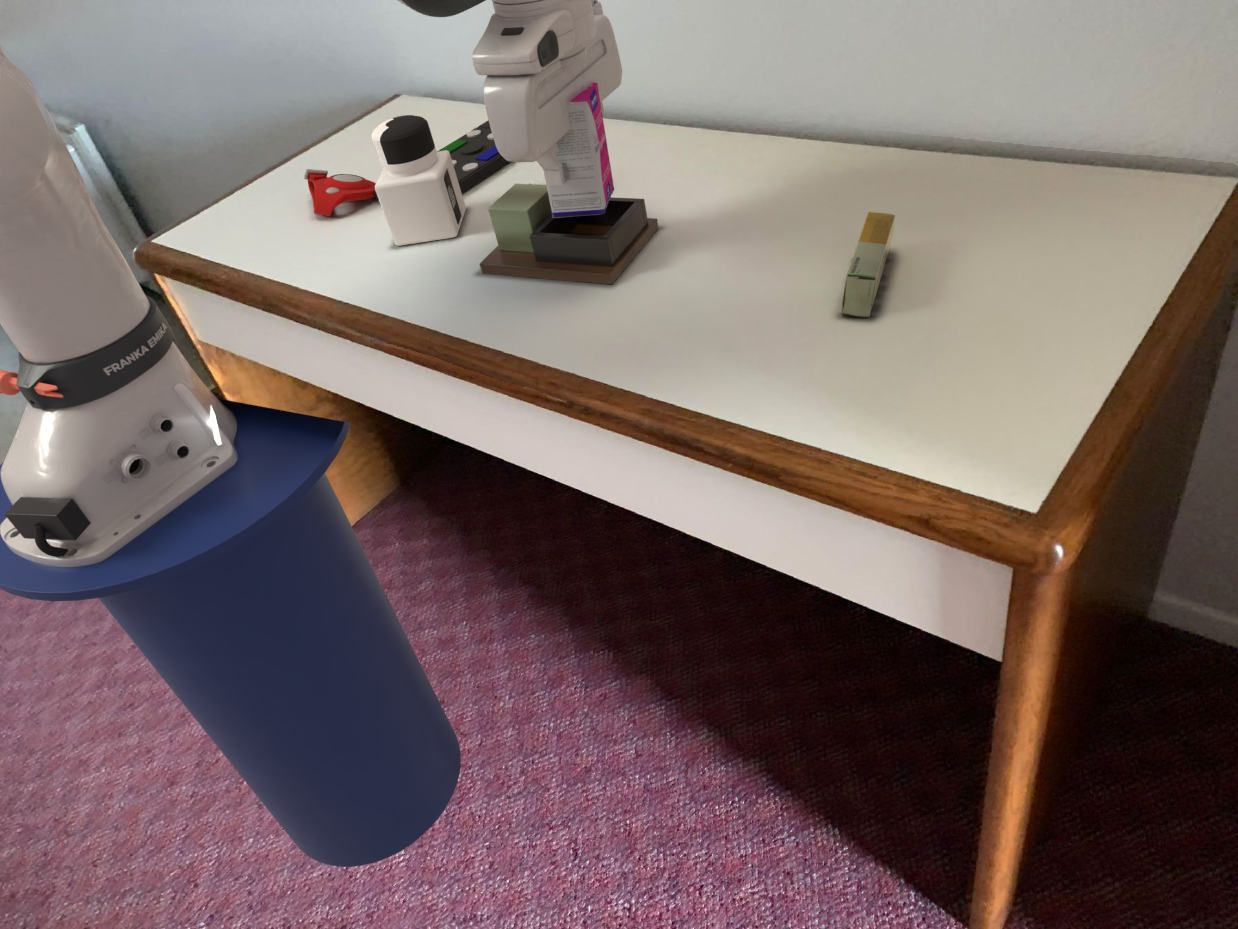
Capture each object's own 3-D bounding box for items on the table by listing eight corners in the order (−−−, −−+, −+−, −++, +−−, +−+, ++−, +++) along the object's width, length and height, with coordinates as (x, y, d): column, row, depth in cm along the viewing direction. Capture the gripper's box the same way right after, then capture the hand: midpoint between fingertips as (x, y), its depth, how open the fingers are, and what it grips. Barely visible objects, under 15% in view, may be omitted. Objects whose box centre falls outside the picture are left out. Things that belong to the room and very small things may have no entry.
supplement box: (607, 214, 94) (585, 101, 87) (551, 219, 95) (525, 108, 88) (617, 189, 98) (597, 79, 91) (564, 193, 100) (540, 86, 92)
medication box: (871, 319, 82) (876, 280, 79) (840, 315, 83) (844, 276, 80) (890, 249, 90) (895, 211, 87) (862, 246, 91) (866, 208, 88)
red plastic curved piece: (391, 175, 125) (354, 190, 116) (391, 207, 127) (355, 225, 119) (309, 159, 127) (267, 173, 118) (311, 192, 129) (270, 208, 121)
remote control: (580, 116, 133) (577, 102, 132) (435, 211, 116) (430, 196, 115) (522, 110, 139) (519, 97, 138) (376, 200, 122) (371, 186, 121)
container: (467, 209, 115) (436, 104, 107) (457, 237, 109) (424, 129, 101) (407, 218, 116) (372, 115, 108) (394, 247, 110) (356, 140, 102)
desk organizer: (612, 284, 94) (600, 228, 90) (482, 273, 101) (466, 221, 97) (658, 228, 102) (650, 174, 98) (534, 221, 109) (522, 171, 105)
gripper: (568, -11, 93) (594, 124, 102) (460, 63, 80) (500, 211, 89) (624, -15, 91) (645, 124, 100) (522, 61, 78) (557, 214, 86)
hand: (576, 166), depth 94 cm, fingers closed on supplement box, 6 cm apart
